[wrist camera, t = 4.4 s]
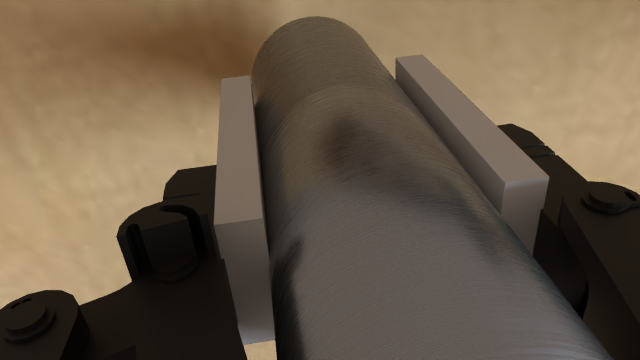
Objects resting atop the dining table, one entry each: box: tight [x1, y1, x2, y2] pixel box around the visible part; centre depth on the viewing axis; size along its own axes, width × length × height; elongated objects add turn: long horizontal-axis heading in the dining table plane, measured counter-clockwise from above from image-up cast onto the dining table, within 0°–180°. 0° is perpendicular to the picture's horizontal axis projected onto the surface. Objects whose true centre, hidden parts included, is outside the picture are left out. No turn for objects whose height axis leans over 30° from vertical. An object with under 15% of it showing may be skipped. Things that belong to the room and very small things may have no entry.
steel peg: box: [252, 16, 613, 360], centre depth 11 cm, size 4×4×14 cm
